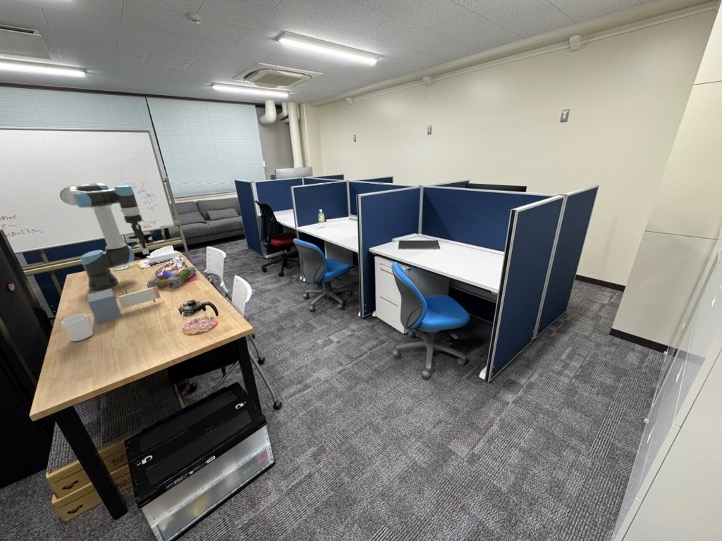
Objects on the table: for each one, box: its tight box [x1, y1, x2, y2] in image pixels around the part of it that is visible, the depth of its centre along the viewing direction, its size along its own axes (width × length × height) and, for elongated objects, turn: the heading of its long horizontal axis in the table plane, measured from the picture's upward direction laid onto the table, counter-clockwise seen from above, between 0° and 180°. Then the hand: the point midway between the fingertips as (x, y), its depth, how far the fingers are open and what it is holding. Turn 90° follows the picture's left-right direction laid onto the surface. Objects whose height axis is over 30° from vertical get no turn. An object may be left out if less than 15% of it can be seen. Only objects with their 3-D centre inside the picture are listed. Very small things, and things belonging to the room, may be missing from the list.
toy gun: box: [147, 266, 198, 289], centre depth 196 cm, size 7×27×20 cm
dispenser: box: [87, 288, 122, 325], centre depth 154 cm, size 12×11×13 cm
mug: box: [60, 313, 94, 343], centre depth 138 cm, size 11×9×10 cm
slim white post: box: [118, 286, 161, 309], centre depth 164 cm, size 1×18×7 cm, turn 133°
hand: (144, 251), depth 168 cm, fingers open, 13 cm apart
